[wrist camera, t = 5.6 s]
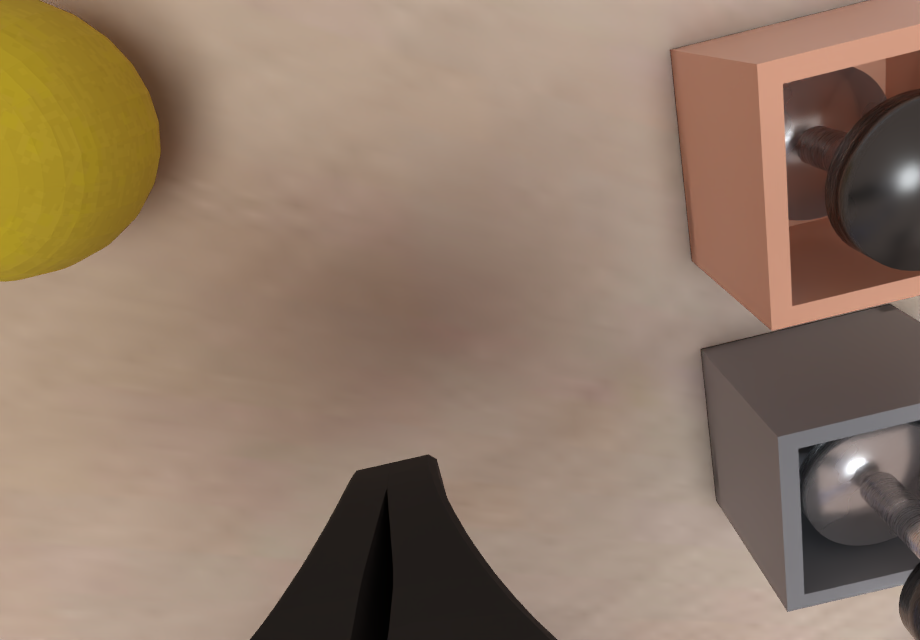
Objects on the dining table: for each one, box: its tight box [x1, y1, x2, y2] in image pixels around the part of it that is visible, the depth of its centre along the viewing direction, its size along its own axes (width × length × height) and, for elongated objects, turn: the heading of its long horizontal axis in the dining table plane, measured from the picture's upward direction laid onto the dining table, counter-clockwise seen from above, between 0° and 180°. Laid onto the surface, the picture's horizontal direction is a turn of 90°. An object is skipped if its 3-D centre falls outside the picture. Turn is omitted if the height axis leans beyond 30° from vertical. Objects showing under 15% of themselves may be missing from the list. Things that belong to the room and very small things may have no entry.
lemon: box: [0, 0, 161, 281], centre depth 15 cm, size 6×6×8 cm
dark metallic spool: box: [783, 67, 920, 271], centre depth 17 cm, size 4×4×5 cm
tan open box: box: [670, 0, 920, 331], centre depth 18 cm, size 6×8×5 cm
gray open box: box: [701, 304, 920, 612], centre depth 21 cm, size 6×8×5 cm
